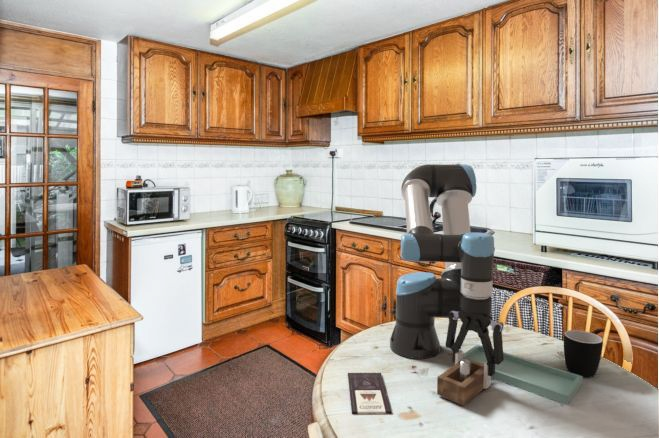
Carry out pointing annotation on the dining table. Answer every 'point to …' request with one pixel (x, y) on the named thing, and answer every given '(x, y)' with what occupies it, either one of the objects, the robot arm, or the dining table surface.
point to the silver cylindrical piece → (464, 369)
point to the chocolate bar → (368, 394)
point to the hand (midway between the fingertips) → (472, 380)
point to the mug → (582, 352)
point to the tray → (532, 376)
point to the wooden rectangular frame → (461, 391)
